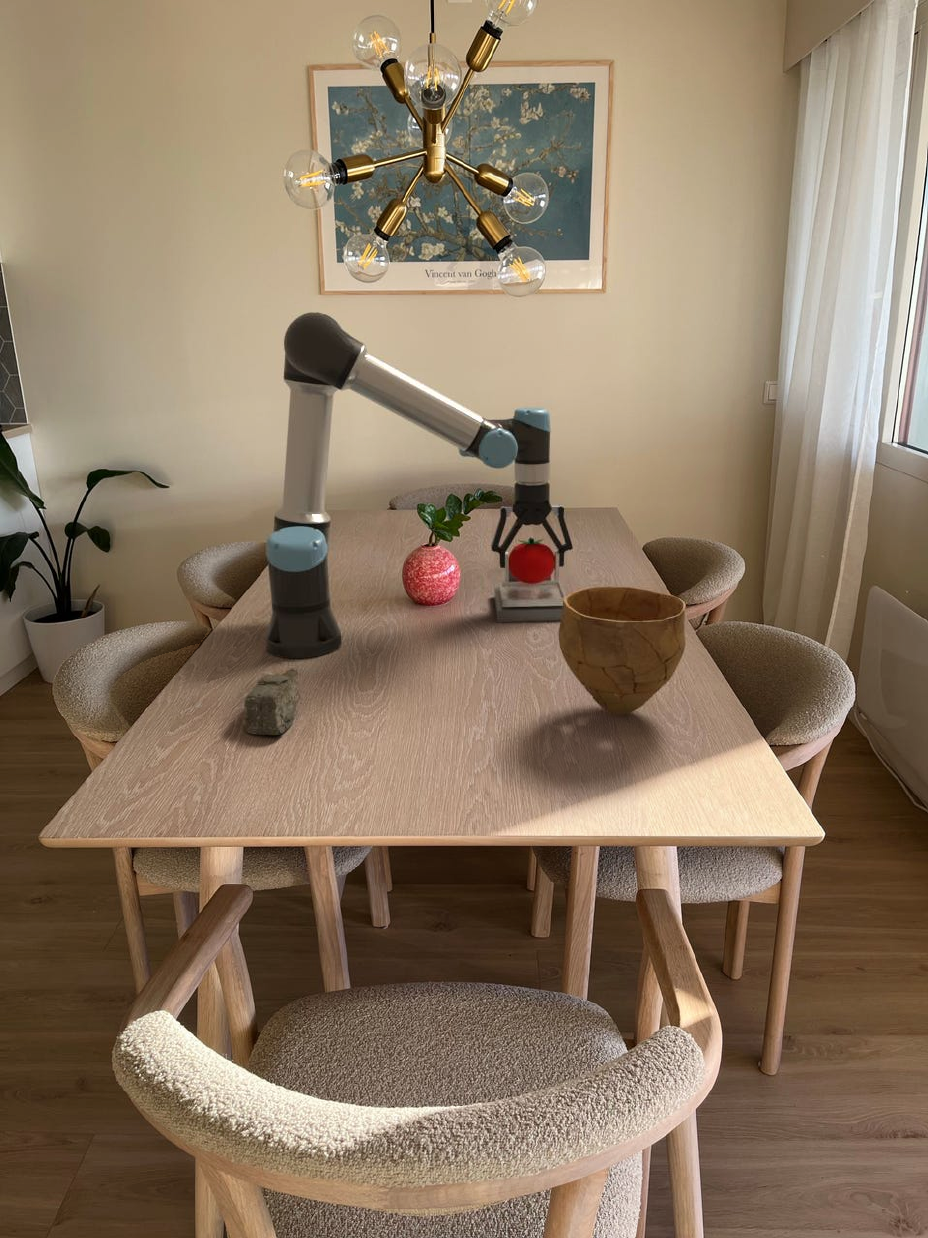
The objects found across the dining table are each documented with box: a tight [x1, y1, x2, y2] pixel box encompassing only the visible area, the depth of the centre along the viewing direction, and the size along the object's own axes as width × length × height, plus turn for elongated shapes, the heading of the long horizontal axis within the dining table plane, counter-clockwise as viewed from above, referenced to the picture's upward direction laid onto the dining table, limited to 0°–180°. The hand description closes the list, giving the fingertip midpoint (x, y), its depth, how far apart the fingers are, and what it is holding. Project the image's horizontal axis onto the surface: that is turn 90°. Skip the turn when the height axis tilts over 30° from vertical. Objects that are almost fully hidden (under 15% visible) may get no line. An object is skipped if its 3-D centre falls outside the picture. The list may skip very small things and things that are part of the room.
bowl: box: [558, 586, 687, 717], centre depth 153 cm, size 21×20×20 cm
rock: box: [242, 667, 301, 736], centre depth 156 cm, size 17×7×10 cm
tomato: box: [509, 536, 555, 584], centre depth 206 cm, size 10×10×10 cm
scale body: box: [493, 570, 567, 623], centre depth 209 cm, size 18×16×9 cm
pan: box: [498, 579, 567, 607], centre depth 208 cm, size 14×14×2 cm
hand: (531, 581), depth 207 cm, fingers closed on tomato, 10 cm apart
